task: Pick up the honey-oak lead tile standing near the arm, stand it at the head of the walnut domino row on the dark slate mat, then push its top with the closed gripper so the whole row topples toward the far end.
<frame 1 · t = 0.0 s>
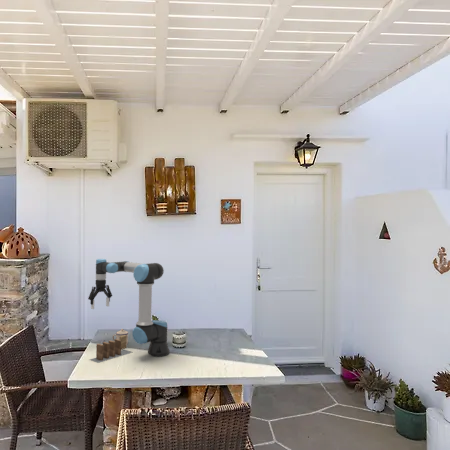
hand: (100, 307, 319), 28 cm above the table, fingers open, 13 cm apart
tile 5: (99, 359, 283), point 1 cm above the table, touching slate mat
tile 4: (105, 357, 287), point 1 cm above the table, touching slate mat
teacup with lid: (120, 344, 321), on the table
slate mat: (111, 356, 291), on the table
tile 2: (117, 354, 295), point 1 cm above the table, touching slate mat
tile 3: (111, 355, 291), point 1 cm above the table, touching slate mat
lead tile: (122, 349, 308), on the table
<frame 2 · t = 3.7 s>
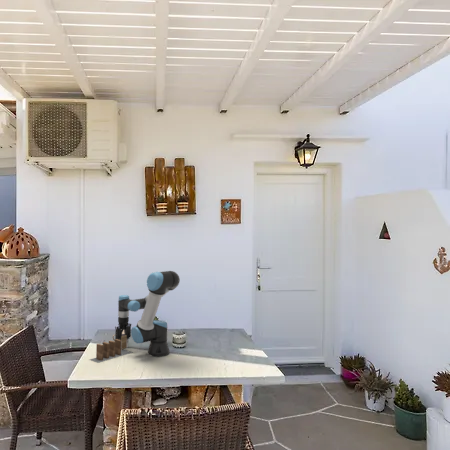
hand: (122, 348, 309), 1 cm above the table, fingers closed on lead tile, 5 cm apart
lead tile: (122, 349, 309), on the table, touching gripper
everything else where it was.
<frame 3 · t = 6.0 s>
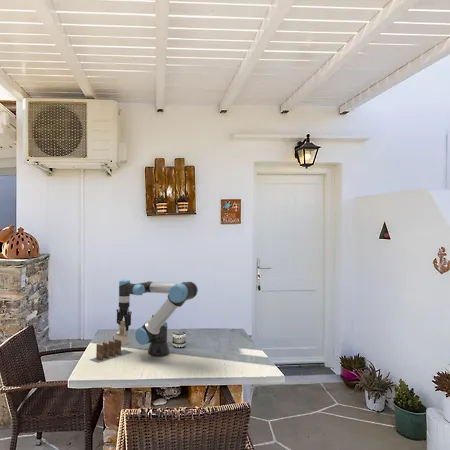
hand: (123, 334, 299), 13 cm above the table, fingers closed on lead tile, 5 cm apart
lead tile: (123, 335, 299), point 13 cm above the table, touching gripper
everything else where it was.
when the fingers open (2 cm above the table, at t = 8.2 s): lead tile stays where it is, resting on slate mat.
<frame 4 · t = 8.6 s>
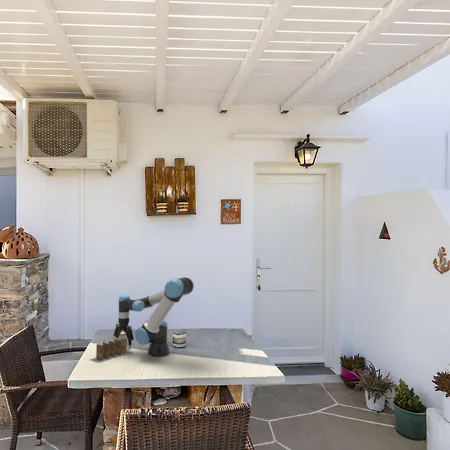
hand: (123, 348, 299), 4 cm above the table, fingers open, 11 cm apart
lead tile: (123, 352, 299), point 1 cm above the table, touching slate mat
everything else where it was.
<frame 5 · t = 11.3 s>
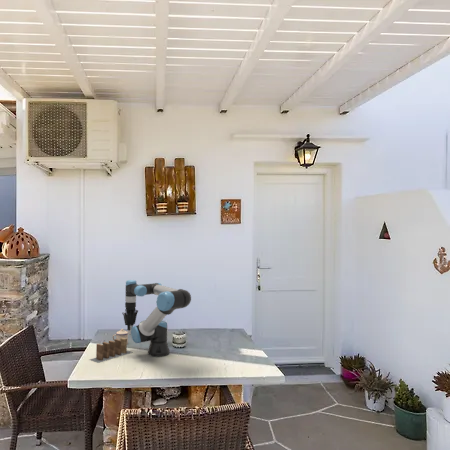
hand: (129, 334, 304), 12 cm above the table, fingers closed
nothing on the table moved.
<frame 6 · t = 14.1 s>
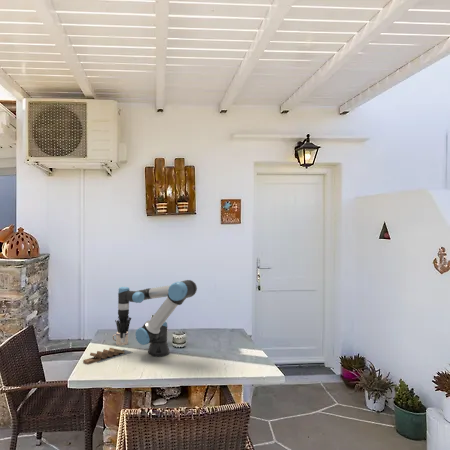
hand: (122, 342, 299), 8 cm above the table, fingers closed
tile 5: (98, 358, 282), point 1 cm above the table, tilted 90°, touching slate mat, tile 4
tile 4: (104, 356, 286), point 2 cm above the table, tilted 69°, touching tile 3, tile 5
tile 2: (116, 353, 294), point 1 cm above the table, tilted 69°, touching lead tile, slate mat, tile 3
tile 3: (110, 355, 290), point 1 cm above the table, tilted 69°, touching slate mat, tile 2, tile 4
lead tile: (122, 351, 298), point 1 cm above the table, tilted 69°, touching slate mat, tile 2
everything else where it was.
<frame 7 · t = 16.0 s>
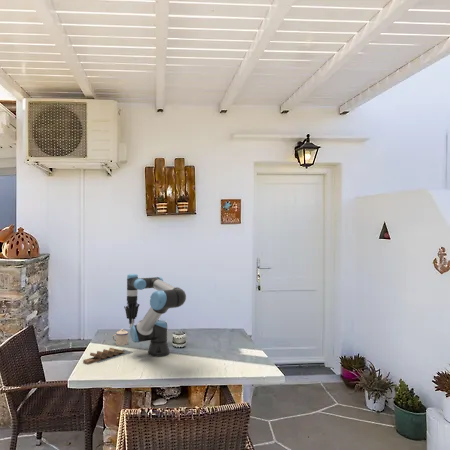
hand: (131, 327, 306), 16 cm above the table, fingers closed
nothing on the table moved.
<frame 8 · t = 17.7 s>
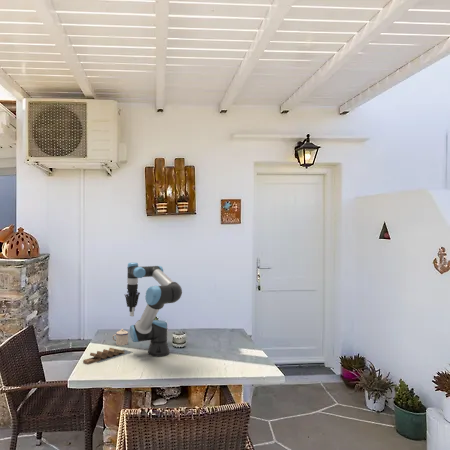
hand: (131, 315, 309), 24 cm above the table, fingers closed
nothing on the table moved.
at the end: tile 5 tilted 90°; lead tile tilted 69°; lead tile inside the target area (2.5 cm from its centre), point 1.4 cm above the table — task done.
